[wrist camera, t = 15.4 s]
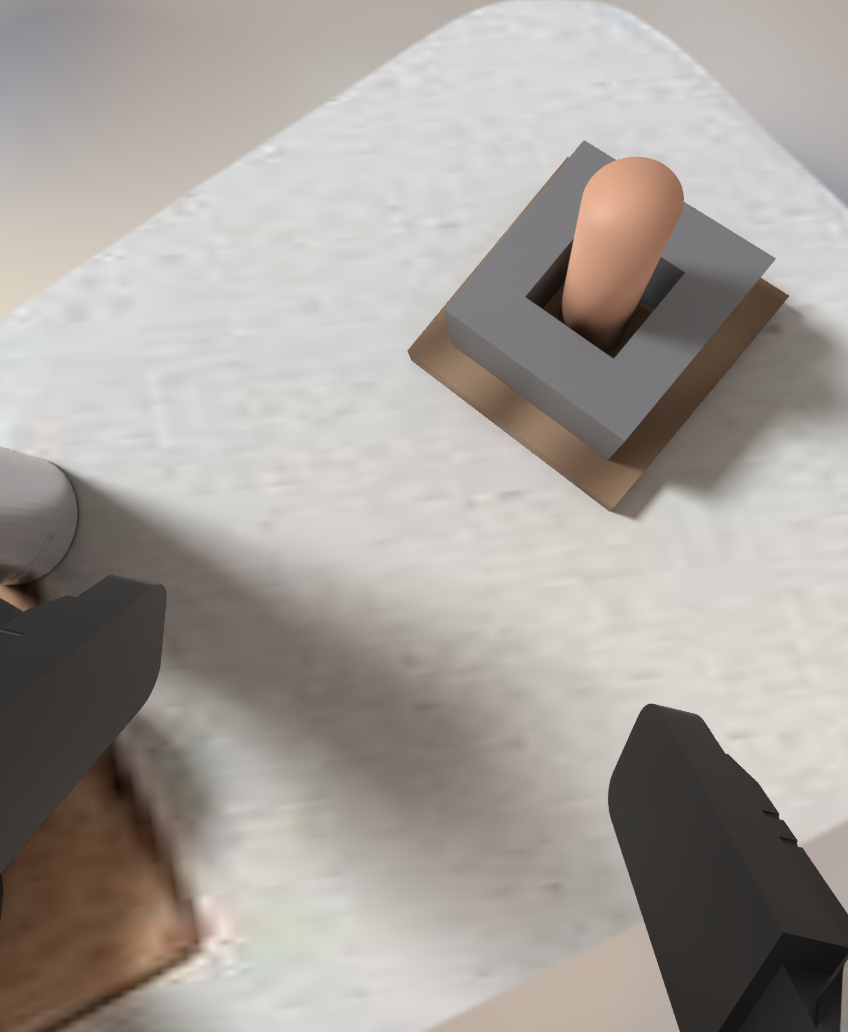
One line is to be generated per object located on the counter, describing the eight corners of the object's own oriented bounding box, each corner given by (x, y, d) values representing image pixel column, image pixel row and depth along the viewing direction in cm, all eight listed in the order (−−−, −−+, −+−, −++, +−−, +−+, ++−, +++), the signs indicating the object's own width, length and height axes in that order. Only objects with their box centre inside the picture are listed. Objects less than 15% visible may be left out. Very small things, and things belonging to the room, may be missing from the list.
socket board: (411, 360, 36) (407, 350, 34) (565, 174, 36) (567, 156, 34) (608, 510, 33) (613, 507, 31) (776, 308, 33) (789, 295, 31)
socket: (451, 344, 34) (444, 309, 30) (573, 197, 34) (583, 140, 30) (607, 460, 32) (625, 441, 27) (737, 303, 32) (775, 258, 27)
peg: (543, 333, 33) (561, 215, 22) (584, 282, 33) (622, 139, 22) (596, 369, 32) (641, 266, 22) (638, 318, 32) (704, 188, 22)
